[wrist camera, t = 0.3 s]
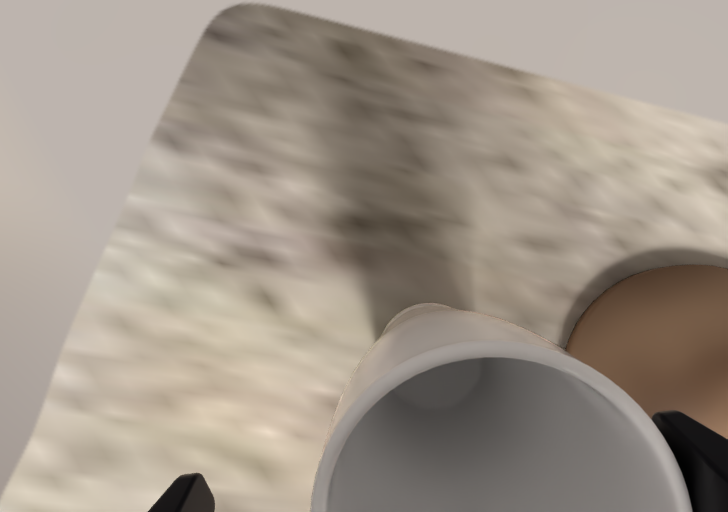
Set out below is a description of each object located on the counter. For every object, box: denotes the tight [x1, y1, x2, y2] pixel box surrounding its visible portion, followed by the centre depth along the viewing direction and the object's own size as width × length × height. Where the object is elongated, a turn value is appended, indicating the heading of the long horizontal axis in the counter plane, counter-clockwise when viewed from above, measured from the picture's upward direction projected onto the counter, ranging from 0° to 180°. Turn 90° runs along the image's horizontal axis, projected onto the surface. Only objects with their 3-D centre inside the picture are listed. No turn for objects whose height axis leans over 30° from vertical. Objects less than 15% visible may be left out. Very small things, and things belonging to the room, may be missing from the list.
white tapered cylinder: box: [310, 303, 693, 512], centre depth 15 cm, size 7×7×15 cm
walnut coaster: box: [566, 265, 728, 439], centre depth 21 cm, size 13×13×1 cm
